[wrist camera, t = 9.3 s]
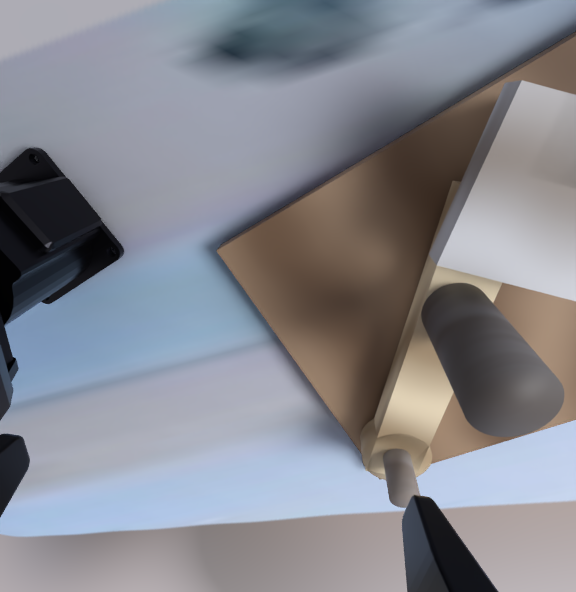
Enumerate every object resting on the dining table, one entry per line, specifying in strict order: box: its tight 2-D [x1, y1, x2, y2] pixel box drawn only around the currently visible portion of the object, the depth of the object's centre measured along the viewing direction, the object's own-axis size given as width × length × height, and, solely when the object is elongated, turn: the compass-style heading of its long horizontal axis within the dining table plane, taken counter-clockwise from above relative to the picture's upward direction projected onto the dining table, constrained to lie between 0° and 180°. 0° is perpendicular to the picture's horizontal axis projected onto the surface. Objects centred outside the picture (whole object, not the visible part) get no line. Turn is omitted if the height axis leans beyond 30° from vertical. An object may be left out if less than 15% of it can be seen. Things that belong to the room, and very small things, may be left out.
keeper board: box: [217, 32, 576, 479], centre depth 18 cm, size 19×19×5 cm
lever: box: [360, 181, 564, 508], centre depth 17 cm, size 18×4×8 cm, turn 173°
